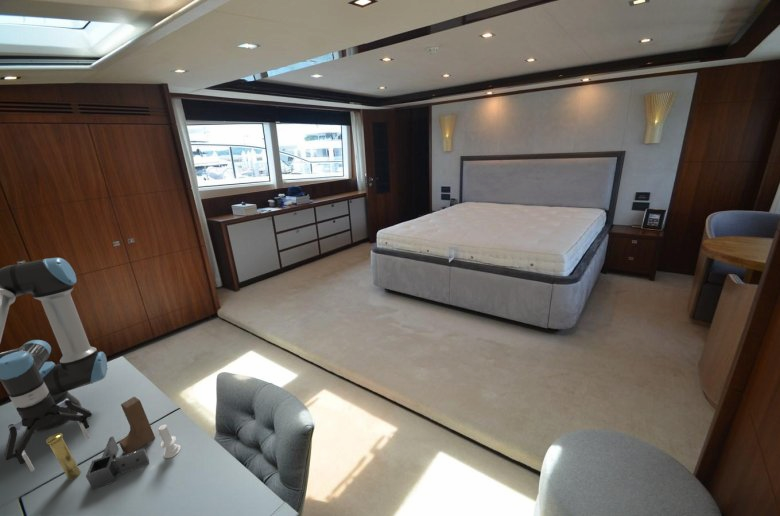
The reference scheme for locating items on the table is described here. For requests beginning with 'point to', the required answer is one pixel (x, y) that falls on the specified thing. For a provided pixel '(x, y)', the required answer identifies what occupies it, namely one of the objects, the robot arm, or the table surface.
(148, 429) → the wooden block
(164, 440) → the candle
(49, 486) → the table surface
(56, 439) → the hinge pin
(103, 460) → the square tube bracket
